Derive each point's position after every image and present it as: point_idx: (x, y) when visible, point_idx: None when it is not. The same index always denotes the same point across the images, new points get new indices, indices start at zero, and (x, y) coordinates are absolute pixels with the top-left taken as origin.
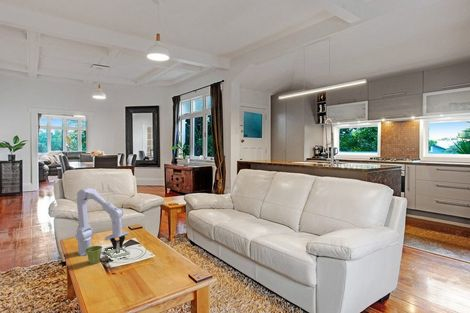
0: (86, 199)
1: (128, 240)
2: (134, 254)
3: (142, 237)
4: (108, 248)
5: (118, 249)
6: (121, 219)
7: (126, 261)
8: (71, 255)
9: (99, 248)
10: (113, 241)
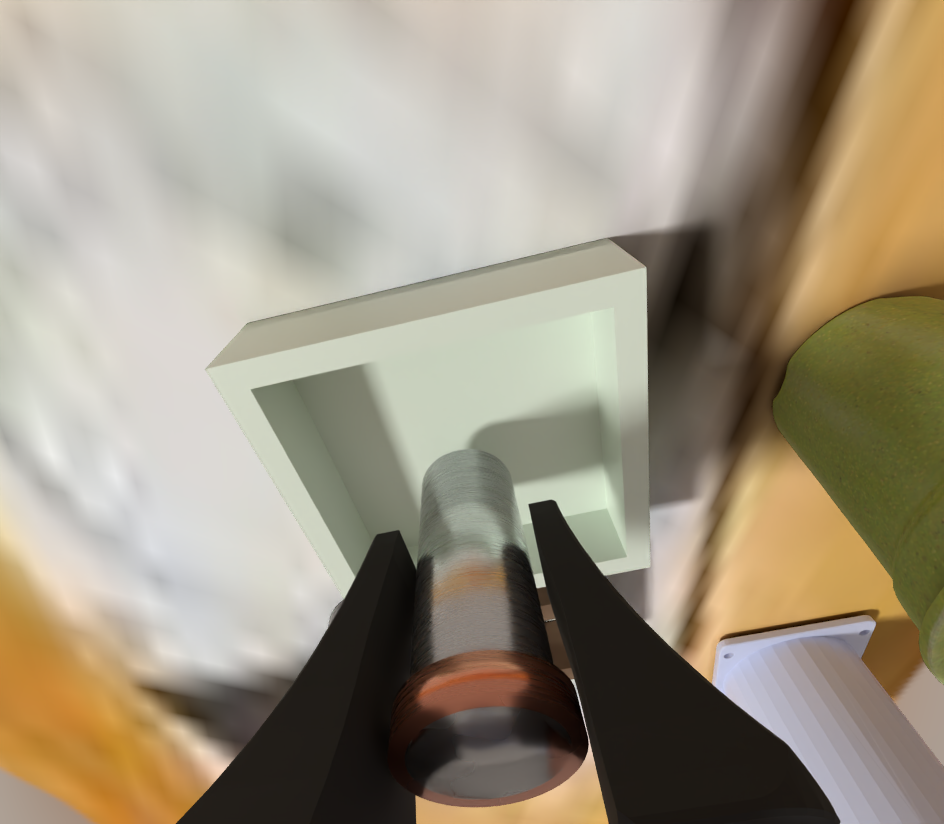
0: None
1: None
2: (154, 362)
3: (137, 780)
4: (561, 658)
5: (459, 503)
6: None
7: (311, 17)
8: (914, 655)
9: (902, 601)
10: (731, 743)
